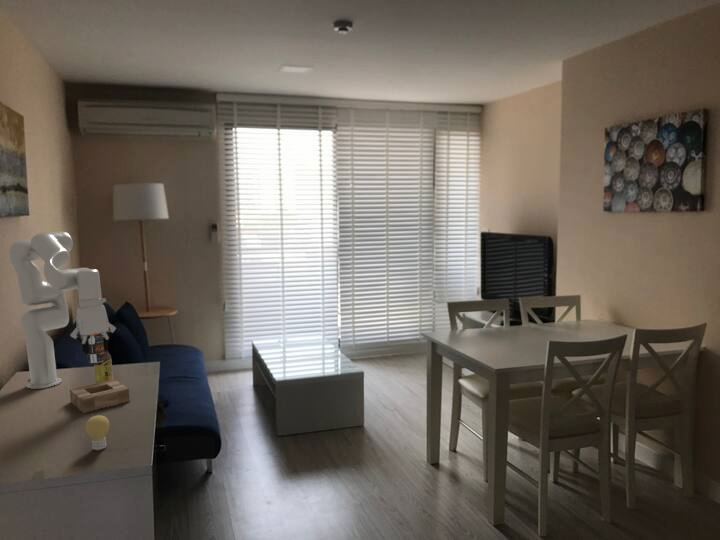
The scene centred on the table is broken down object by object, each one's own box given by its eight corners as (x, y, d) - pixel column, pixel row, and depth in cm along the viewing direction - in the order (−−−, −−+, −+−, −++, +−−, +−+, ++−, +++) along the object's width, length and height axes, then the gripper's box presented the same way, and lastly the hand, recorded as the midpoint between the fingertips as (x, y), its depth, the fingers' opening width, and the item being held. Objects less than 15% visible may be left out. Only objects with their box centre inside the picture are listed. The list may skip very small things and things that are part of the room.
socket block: (71, 402, 211) (69, 389, 211) (115, 391, 222) (114, 379, 221) (83, 413, 199) (81, 399, 199) (129, 401, 210) (128, 388, 209)
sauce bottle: (108, 392, 222) (104, 342, 219) (93, 392, 222) (88, 342, 220) (117, 386, 228) (112, 338, 226) (101, 387, 228) (97, 338, 226)
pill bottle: (98, 363, 205) (95, 332, 204) (84, 363, 206) (80, 332, 205) (108, 358, 211) (105, 329, 210) (94, 358, 212) (91, 329, 211)
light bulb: (92, 444, 172) (89, 413, 171) (114, 443, 172) (111, 411, 171) (84, 454, 165) (80, 421, 164) (107, 452, 166) (103, 419, 165)
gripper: (112, 299, 215) (116, 345, 217) (62, 305, 203) (67, 355, 205) (118, 301, 209) (123, 348, 211) (67, 308, 198) (72, 358, 200)
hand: (95, 351), depth 208 cm, fingers closed on pill bottle, 6 cm apart
